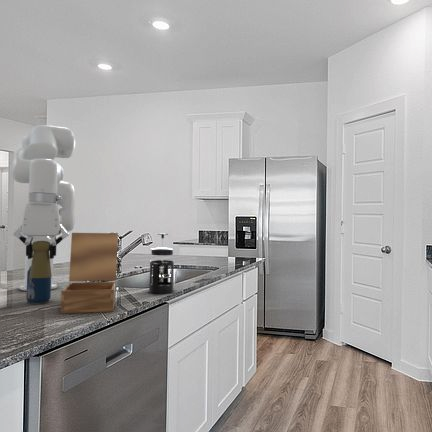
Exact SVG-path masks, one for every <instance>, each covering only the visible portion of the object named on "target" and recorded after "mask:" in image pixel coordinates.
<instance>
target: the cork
mask: <svg viewBox="0 0 432 432" xmlns="http://www.w3.org/2000/svg"><path fill="white" fill-rule="evenodd" d="M50 246H51V244H50V242H48V241H36V242H33V244H32V250H33V251H34V253H33V258H32V264H31V270H30V275H29V277H30V278H47V277H52V274H51V266H50V257H49V251H50Z"/></svg>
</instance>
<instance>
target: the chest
mask: <svg viewBox="0 0 432 432" xmlns="http://www.w3.org/2000/svg"><path fill="white" fill-rule="evenodd" d="M116 296H117V281H82V282H69V283H67V285H66V286H64V288H63V289H62V290H61V293H60V314H62V315H63V314H82V313H83V314H85V313H104V312H105V313H107V312H109V313H110V312H114V309H115V306H116V301H117V300H116V299H117V297H116Z"/></svg>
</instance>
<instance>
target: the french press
mask: <svg viewBox="0 0 432 432" xmlns="http://www.w3.org/2000/svg"><path fill="white" fill-rule="evenodd" d="M157 236H161V237H160V238H161V239H162V240H161V247H155V248H150V249H149V250H150V251H151V255H152V256H161V259H156V260H155V259H154V260H150V261H149V283H148V285H149V286H148V287H149V288H148V293H149V294H151V295H152V294H153V295H167V294H173V293H174V265H175V264H174V263H175V261H174V260H170V259H169V260H167V259H163V256H172V255H174V251H175V248H170V247H164V239H165V236H169V233H166V232H165V233H164V232H163V233H157ZM169 267H170V268H171V269H170V274H169ZM160 269H161V270H160ZM160 279H161V280H163V281H160ZM169 279H170V281H169Z"/></svg>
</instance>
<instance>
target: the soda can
mask: <svg viewBox="0 0 432 432" xmlns="http://www.w3.org/2000/svg"><path fill="white" fill-rule="evenodd" d="M30 270H31V266H30V268H29V270H28V272H27V291H26V301H27V303H28V304H30V305H42V304H47V303H49V301H50V300H51V295H52V294H51V293H52V289H51V277H47V278H30V277H29V275H30Z"/></svg>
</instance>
